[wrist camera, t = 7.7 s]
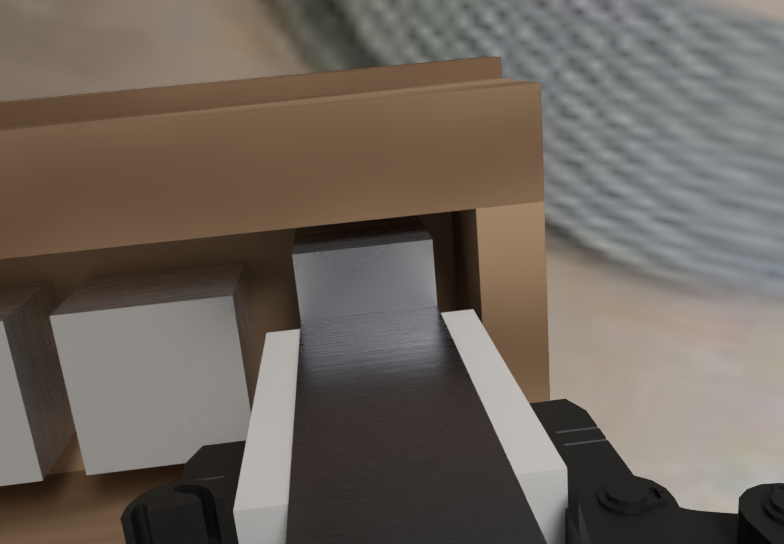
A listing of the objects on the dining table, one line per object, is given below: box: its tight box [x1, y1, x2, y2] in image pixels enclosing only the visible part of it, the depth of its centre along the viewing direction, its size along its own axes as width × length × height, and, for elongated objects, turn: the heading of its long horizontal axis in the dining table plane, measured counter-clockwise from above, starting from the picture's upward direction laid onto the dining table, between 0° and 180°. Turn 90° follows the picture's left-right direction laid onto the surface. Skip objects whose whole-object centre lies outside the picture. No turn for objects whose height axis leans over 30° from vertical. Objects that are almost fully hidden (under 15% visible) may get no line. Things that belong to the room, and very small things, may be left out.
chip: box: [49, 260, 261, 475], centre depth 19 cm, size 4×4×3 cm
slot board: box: [0, 57, 550, 544], centre depth 19 cm, size 13×18×5 cm
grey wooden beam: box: [286, 215, 547, 544], centre depth 13 cm, size 6×3×14 cm, turn 5°
